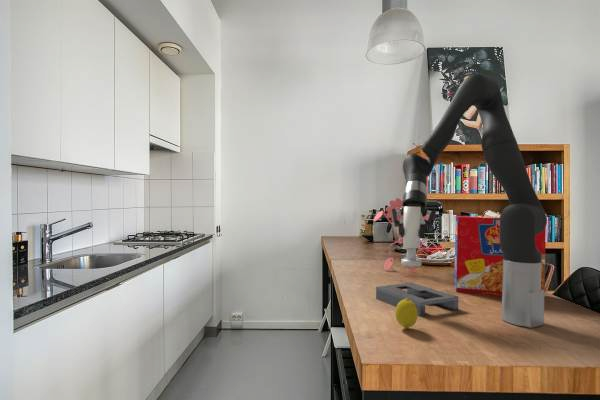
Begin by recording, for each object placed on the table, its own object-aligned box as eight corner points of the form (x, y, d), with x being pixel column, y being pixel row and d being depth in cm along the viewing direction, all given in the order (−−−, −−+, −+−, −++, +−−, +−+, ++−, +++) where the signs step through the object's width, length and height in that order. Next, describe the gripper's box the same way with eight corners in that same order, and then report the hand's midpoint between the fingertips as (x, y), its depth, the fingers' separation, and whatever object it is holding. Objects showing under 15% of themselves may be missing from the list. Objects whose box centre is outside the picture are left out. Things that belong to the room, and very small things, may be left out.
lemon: (400, 323, 97) (401, 294, 97) (420, 328, 93) (421, 298, 93) (391, 329, 93) (392, 298, 93) (412, 334, 89) (412, 302, 89)
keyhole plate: (458, 309, 110) (458, 296, 110) (420, 316, 103) (420, 302, 103) (411, 293, 128) (411, 282, 128) (376, 298, 121) (376, 286, 121)
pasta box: (456, 292, 132) (457, 216, 132) (454, 287, 139) (455, 216, 139) (544, 300, 123) (545, 219, 123) (537, 294, 131) (538, 218, 131)
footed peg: (425, 265, 109) (426, 207, 109) (411, 267, 106) (412, 206, 106) (411, 262, 114) (412, 206, 114) (397, 263, 112) (397, 206, 112)
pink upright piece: (375, 267, 177) (376, 197, 177) (429, 273, 165) (431, 198, 164) (365, 273, 164) (367, 197, 163) (424, 280, 152) (426, 198, 151)
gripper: (392, 188, 120) (386, 226, 109) (437, 188, 115) (436, 228, 103) (393, 204, 125) (388, 242, 114) (437, 205, 119) (436, 245, 108)
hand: (411, 235), depth 109 cm, fingers closed on footed peg, 5 cm apart
